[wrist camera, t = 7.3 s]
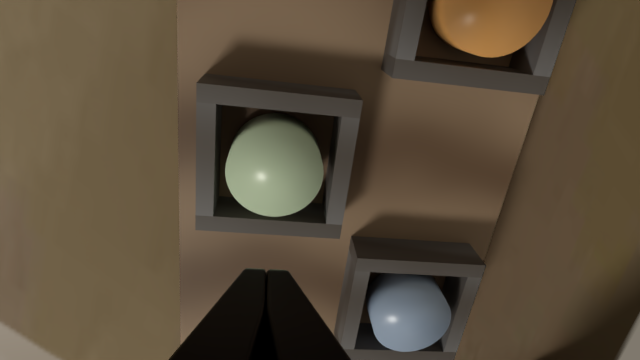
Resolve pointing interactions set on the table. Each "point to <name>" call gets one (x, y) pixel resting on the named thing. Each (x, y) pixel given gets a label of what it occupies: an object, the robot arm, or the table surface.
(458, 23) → the orange button
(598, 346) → the table surface
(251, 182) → the sage button
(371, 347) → the console
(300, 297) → the robot arm
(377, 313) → the slate blue button
